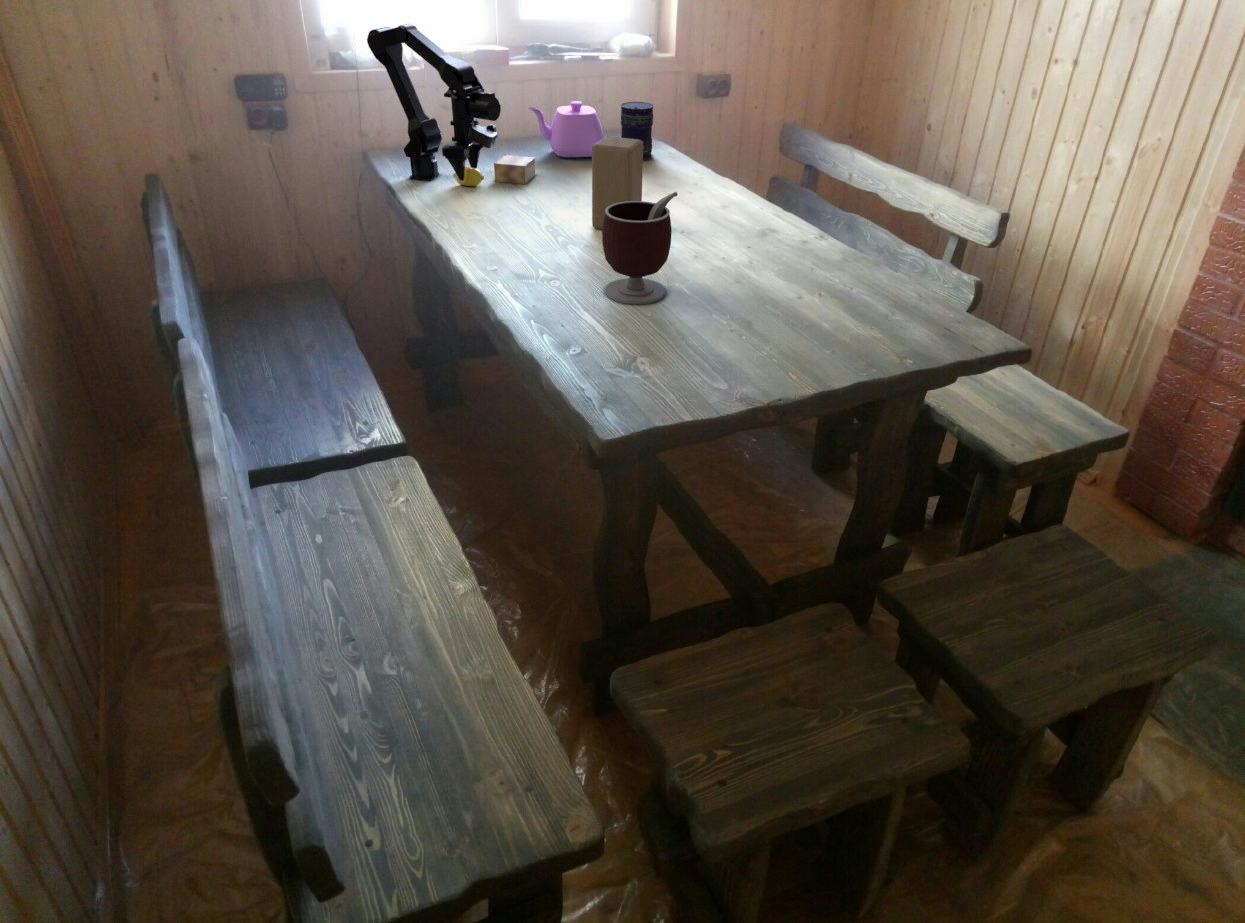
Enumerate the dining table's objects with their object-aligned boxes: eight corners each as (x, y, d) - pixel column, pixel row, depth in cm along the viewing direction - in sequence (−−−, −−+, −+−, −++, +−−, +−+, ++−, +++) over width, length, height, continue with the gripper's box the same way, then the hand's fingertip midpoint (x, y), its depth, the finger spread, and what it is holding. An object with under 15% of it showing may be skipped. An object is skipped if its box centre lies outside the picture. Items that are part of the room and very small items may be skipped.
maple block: (494, 181, 246) (493, 163, 243) (505, 172, 253) (504, 154, 250) (525, 184, 244) (524, 165, 241) (535, 175, 251) (534, 157, 249)
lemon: (450, 186, 241) (449, 168, 238) (457, 181, 245) (455, 164, 242) (481, 189, 239) (480, 171, 237) (487, 184, 243) (486, 166, 241)
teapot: (597, 142, 283) (597, 92, 274) (607, 160, 265) (607, 107, 257) (527, 144, 279) (524, 94, 271) (532, 162, 262) (529, 109, 254)
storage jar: (622, 151, 274) (623, 101, 266) (653, 153, 273) (655, 102, 265) (617, 160, 266) (618, 108, 257) (649, 161, 265) (651, 109, 256)
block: (642, 221, 219) (644, 139, 208) (629, 234, 211) (631, 149, 200) (604, 216, 222) (605, 134, 211) (590, 229, 214) (590, 144, 203)
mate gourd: (617, 310, 175) (619, 211, 164) (591, 284, 185) (591, 190, 174) (687, 298, 180) (692, 201, 169) (658, 274, 191) (661, 182, 179)
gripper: (479, 126, 223) (483, 187, 232) (504, 110, 238) (507, 168, 247) (438, 123, 225) (444, 184, 234) (465, 107, 240) (470, 165, 249)
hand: (468, 175), depth 241 cm, fingers open, 9 cm apart
